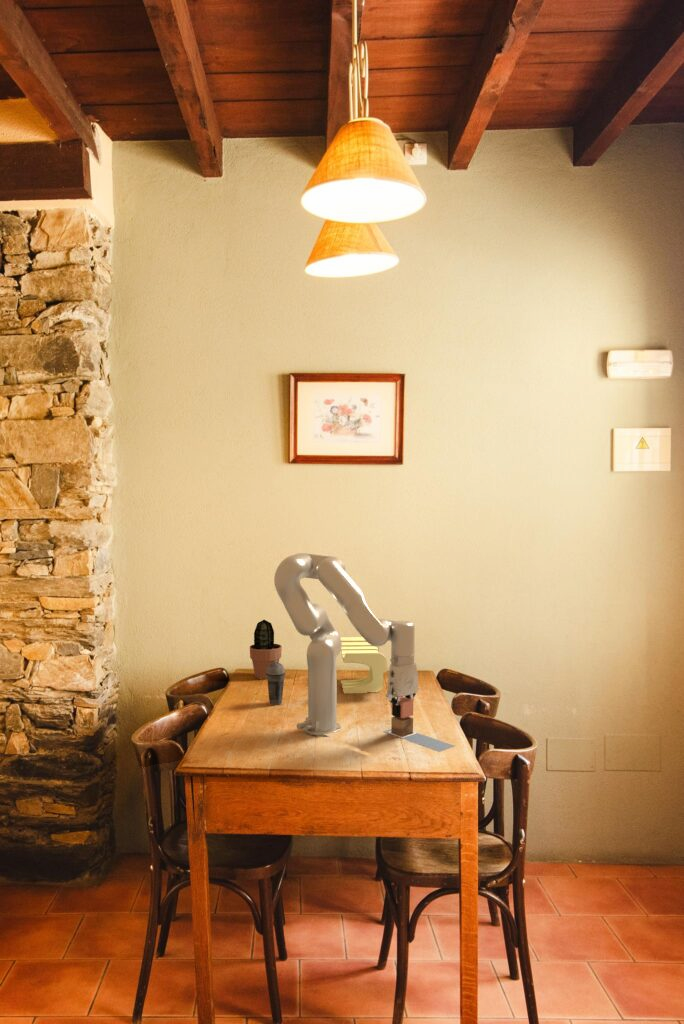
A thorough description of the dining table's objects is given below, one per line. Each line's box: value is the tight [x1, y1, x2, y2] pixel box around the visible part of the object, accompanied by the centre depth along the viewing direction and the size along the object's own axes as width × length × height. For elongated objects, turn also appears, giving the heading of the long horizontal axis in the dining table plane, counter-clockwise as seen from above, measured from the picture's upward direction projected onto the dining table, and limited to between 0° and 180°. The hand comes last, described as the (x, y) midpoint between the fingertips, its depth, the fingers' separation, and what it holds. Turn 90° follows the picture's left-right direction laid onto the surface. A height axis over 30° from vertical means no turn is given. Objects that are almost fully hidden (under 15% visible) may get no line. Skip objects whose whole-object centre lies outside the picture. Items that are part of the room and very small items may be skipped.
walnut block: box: [390, 716, 414, 737], centre depth 235 cm, size 5×5×5 cm
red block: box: [390, 696, 414, 718], centre depth 234 cm, size 5×5×5 cm
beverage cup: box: [266, 651, 286, 706], centre depth 269 cm, size 7×7×20 cm
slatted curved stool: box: [340, 636, 388, 694], centre depth 291 cm, size 30×16×18 cm, turn 4°
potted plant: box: [249, 619, 283, 680], centre depth 307 cm, size 14×14×25 cm
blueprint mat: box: [383, 729, 455, 753], centre depth 229 cm, size 8×24×1 cm, turn 42°
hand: (402, 714), depth 234 cm, fingers closed on red block, 4 cm apart
